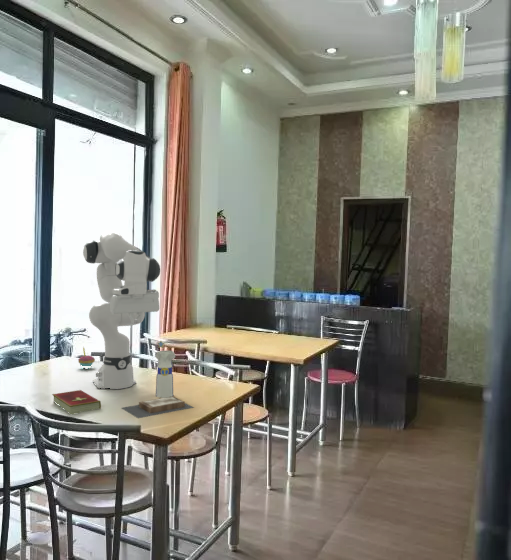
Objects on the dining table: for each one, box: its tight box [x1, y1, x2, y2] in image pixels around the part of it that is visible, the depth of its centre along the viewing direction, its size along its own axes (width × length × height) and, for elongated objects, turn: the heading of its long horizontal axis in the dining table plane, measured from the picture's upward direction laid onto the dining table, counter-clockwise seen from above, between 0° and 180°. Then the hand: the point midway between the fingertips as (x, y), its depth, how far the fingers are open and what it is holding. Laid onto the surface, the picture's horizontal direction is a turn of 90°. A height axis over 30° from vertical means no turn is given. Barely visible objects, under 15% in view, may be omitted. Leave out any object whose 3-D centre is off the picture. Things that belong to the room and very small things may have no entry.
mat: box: [121, 403, 195, 419], centre depth 192 cm, size 16×24×1 cm, turn 128°
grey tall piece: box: [155, 340, 176, 399], centre depth 211 cm, size 8×9×25 cm
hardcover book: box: [52, 389, 102, 415], centre depth 194 cm, size 12×21×4 cm, turn 40°
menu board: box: [138, 395, 185, 413], centre depth 194 cm, size 10×2×15 cm
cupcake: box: [78, 346, 96, 367], centre depth 264 cm, size 9×8×12 cm
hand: (135, 323), depth 197 cm, fingers closed
